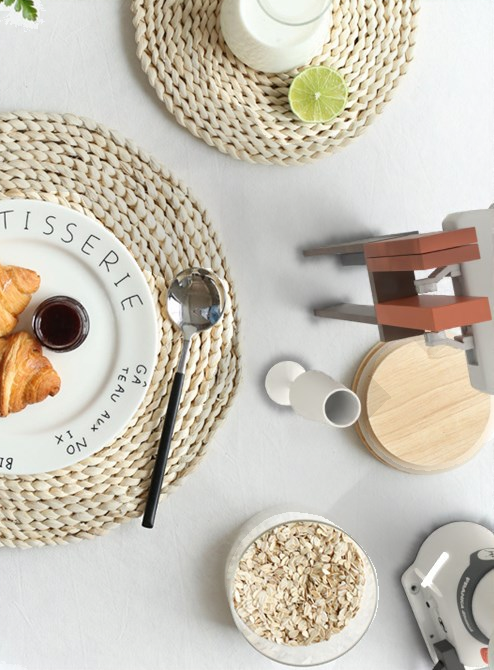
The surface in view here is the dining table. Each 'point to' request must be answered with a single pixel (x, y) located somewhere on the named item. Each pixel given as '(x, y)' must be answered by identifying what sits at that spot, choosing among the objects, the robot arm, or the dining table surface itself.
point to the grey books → (359, 257)
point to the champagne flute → (312, 394)
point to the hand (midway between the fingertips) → (421, 313)
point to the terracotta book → (434, 312)
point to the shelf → (389, 293)
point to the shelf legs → (345, 310)
